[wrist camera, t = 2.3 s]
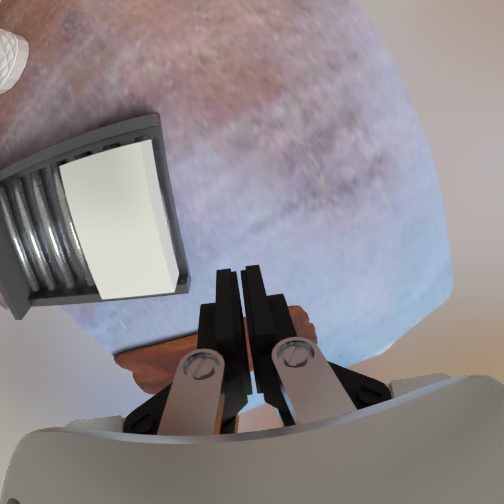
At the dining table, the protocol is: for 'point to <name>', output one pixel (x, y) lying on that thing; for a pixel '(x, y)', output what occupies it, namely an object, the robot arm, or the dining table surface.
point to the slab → (121, 221)
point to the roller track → (66, 221)
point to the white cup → (11, 59)
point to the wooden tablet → (170, 353)
